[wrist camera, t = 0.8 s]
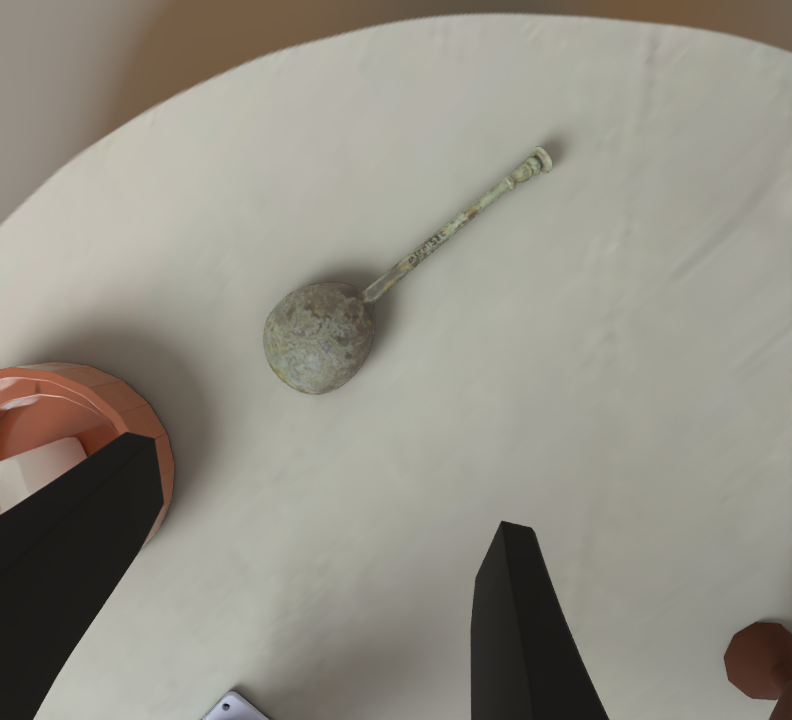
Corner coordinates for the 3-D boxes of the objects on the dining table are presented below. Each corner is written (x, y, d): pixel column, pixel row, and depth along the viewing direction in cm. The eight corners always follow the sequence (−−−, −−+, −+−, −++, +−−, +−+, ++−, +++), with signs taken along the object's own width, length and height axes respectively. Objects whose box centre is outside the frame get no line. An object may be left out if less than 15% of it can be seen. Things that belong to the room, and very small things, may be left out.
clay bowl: (80, 615, 35) (39, 654, 31) (-86, 476, 35) (-152, 497, 30) (220, 462, 35) (197, 482, 31) (54, 317, 34) (7, 316, 30)
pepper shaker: (105, 487, 34) (-2, 550, 25) (49, 509, 35) (-79, 581, 25) (80, 431, 34) (-38, 474, 25) (24, 454, 34) (-116, 505, 25)
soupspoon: (246, 332, 35) (308, 408, 36) (230, 336, 32) (300, 420, 32) (512, 119, 33) (571, 203, 34) (526, 100, 30) (591, 194, 31)
